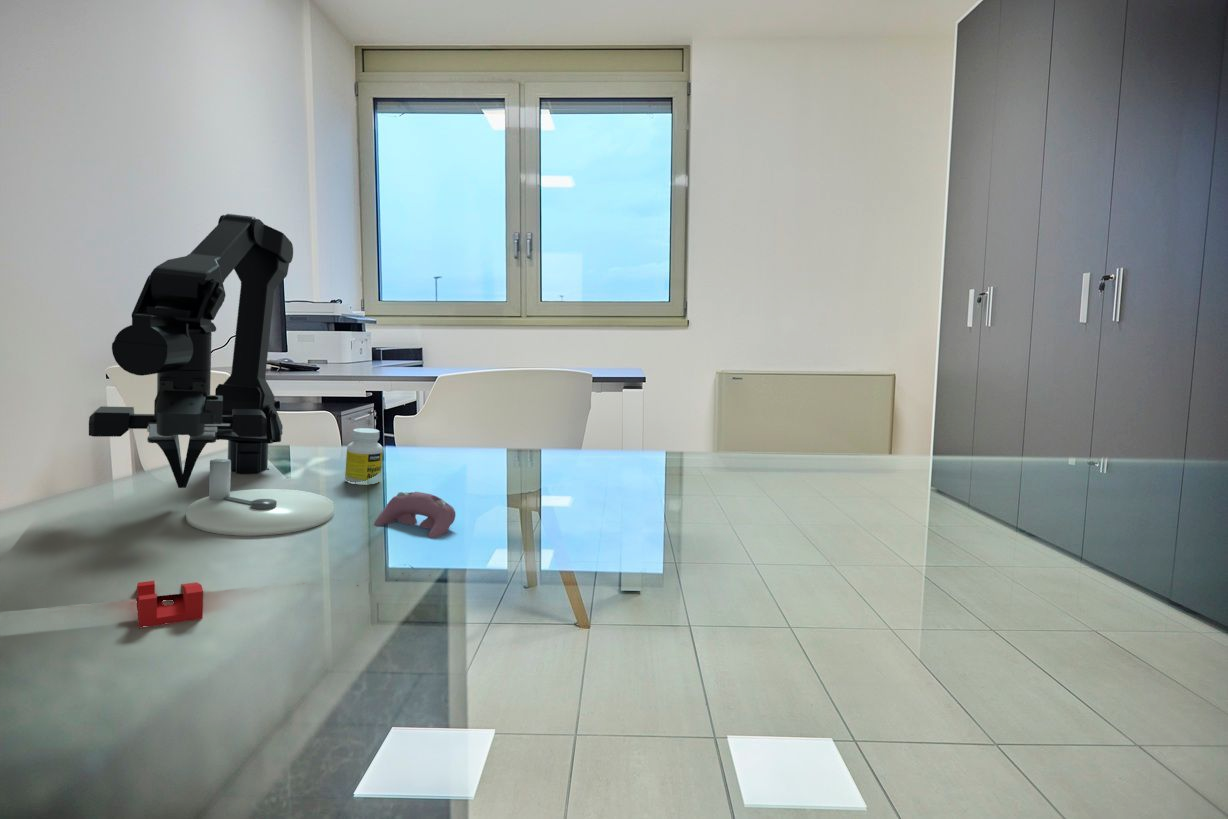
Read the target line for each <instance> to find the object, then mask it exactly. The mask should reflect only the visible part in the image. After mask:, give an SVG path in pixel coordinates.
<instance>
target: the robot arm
mask: <svg viewBox="0 0 1228 819" xmlns="http://www.w3.org/2000/svg"><path fill="white" fill-rule="evenodd" d="M293 257H294V246H293V243H292V241H291V240H290V239H289V238H288V236H286V234H284V232H283V231H280V230H277V229H275V228H273V227H272V226H269V225H266V224H265V223H264V222H263V221H262V220H261V219H260V218H256V217H255V216H250V215H240V214H232V213H226V214H222V215H220V217H219V218H218V222H217V225H216V226H215V227H213V229H212V230H211V231H210V232H209V233H208V234H207V236H206V237H204V238H203V239H202V241H201V242H200V243H198V245H197V246H195V248H193V250H192V251H191V252H190V253H189V254H187V255H185V256H179V257H175V258H170V259H167V260H165V261H164V262H162V263H160V264H158V265H157V266H155V267H154V268H153V269H152V271H151V272H150V274H149V275H148V277H147V278H146V281H145V282H144V285H143V287H142V289H141V292H140V294H139V297H138V299H137V301H136V304H135V305H134V308H133V311H131V324H130V325H129V326H128V325H127V326H126V327H124V328H122V329H121V330H120V331H119V332H118V333H117V334H116V335H115V337H114V340H113V341H112V342H111V352H112V357H113V358H114V361H116V362H115V363H117V364H118V366H119V367H120V368H121V369H122V370H123V371H125V372H127V373H129V374H132V375H135V376H141V377H142V376H149V375H155V374H157V377H156V382H157V383H156V384H157V385H156V395H155V399H154V401H153V402H154V405H153V406H154V412H153V413H154V414H153V413H135V408H134V407H135V406H105V405H104V406H99V407H98V408H97V409H96V410H94V411H93V412H92V414H91V415H90V416H88V419H89V420H88V436H89V437H93V438H95V437H96V438H97V437H105V438H106V437H109V438H110V437H112V438H113V437H114V438H115V437H117V438H118V437H122V436H123V435H125V434H126V433H127V432H128V431H129V430H133V429H135V430H141V429H142V430H146V432H147V433H148V436H147V438H146V439H147V443H150V444H156V445H158V447H159V448H160V449H161V451H162V452H163V454H164V456H165V457H166V459H167V461H168V463H169V466H170V468H171V471H172V474H173V477H174V480H175V482H176V485H177V488H178V489H185V488H187V485H188V483H189V480H190V477H191V475H192V473H193V470H194V467H195V466H196V462H197V460H198V458H199V456H200V455H201V453H202V451H203V450H204V448H205V447H206V445H207V444H213V443H214V444H215V443H216V442H217V441H219V440H220V441H227V459H228V460H231V472H234V473H236V474H238V475H254V474H255V475H258V474H260V473H261V472H264V471H270V468H268V466H269V465H268V464H269V462H268V461H269V445H272V444H275V443H280V442H282V435H283V428H284V427H283V424H282V420H281V418H280V416H279V413H278V410H277V408H276V407H275V395H274V393H273V391H272V389H271V387H270V386H269V384H268V381H267V379H266V373H267V363H268V354H269V345H270V335H271V325H272V316H273V308H274V299H275V298H274V296H275V291H276V289H277V287H279V285H280V284H281V283H282V282H283V281H284V279H285V278H286V277H287V276H288V273H289V266H290V264H291V263H292V261H293ZM233 271H235V274H236V275H237V278H238V280H239V281H240V291H239V297H238V298H239V300H238V310H237V318H236V326H235V328H236V329H235V337H234V346H233V353H232V354H233V356H232V365H231V372H230V375H229V377H228V378H226V380H225V381H224V382H223V383H219V384H218V385H217V386H216V388H215V391H214V392H215V394H214V395H213V394H211V378H212V377H211V375H212V374H211V373H212V370H211V369H212V335H213V334H212V333H215V332H217V326H216V325H215V323H214V322H212V321H214V319H215V318H216V316H217V314H218V313H219V310H220V309H221V307H222V306H223V303H224V302H225V299H226V291H225V287H224V286H225V285H224V282H225V280H226V279H227V278H228V277H229V275H230V274H231V273H232V272H233ZM179 436H189V440H188V444H187V450H186V456H185V461H184V465H182V464H183V463H182V456H181V455H182V454H181V446H180V438H179ZM183 466H184V467H183Z"/></svg>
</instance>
